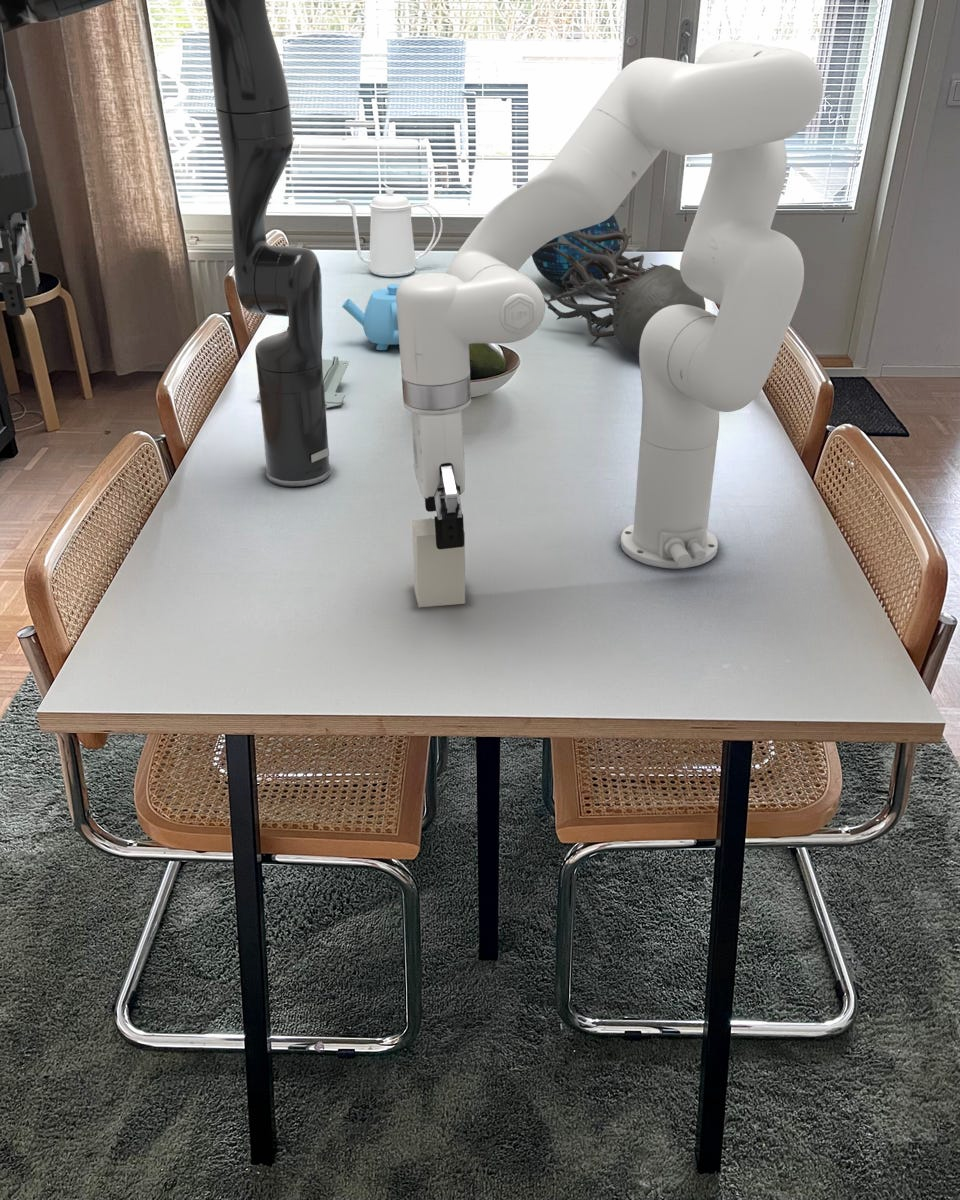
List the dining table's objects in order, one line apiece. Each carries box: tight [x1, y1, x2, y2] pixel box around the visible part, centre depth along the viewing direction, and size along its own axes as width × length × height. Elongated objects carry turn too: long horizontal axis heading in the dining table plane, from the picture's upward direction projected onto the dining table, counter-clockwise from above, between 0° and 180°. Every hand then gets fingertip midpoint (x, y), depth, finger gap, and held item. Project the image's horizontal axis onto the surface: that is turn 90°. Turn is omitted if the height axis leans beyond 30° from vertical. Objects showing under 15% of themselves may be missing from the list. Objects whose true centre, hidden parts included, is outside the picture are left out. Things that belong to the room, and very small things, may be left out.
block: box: [411, 518, 466, 609], centre depth 139 cm, size 4×6×10 cm
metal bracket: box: [256, 356, 350, 409], centre depth 203 cm, size 14×6×15 cm
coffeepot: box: [333, 187, 443, 278], centre depth 268 cm, size 11×25×19 cm, turn 105°
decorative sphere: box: [531, 214, 622, 289], centre depth 256 cm, size 20×20×20 cm
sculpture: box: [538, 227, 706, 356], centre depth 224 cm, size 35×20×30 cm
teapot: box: [341, 283, 399, 351], centre depth 224 cm, size 15×14×11 cm
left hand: (23, 304), depth 145 cm, fingers open, 8 cm apart
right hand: (444, 527), depth 137 cm, fingers open, 9 cm apart
